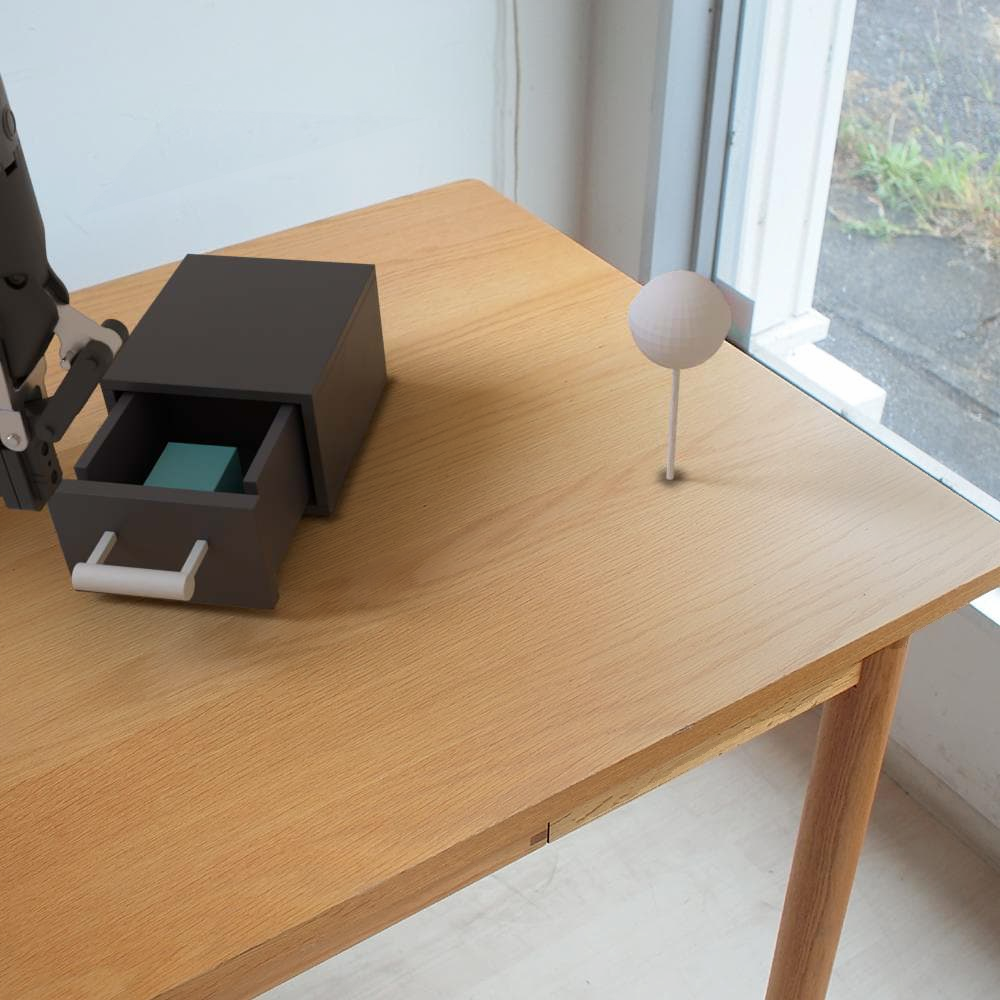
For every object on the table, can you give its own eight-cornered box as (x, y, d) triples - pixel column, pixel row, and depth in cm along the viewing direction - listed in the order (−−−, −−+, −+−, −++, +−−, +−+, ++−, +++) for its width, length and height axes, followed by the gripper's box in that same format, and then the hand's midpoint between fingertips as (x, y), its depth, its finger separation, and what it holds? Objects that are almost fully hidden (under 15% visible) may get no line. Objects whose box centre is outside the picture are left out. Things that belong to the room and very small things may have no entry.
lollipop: (613, 497, 85) (618, 295, 76) (633, 444, 90) (640, 246, 80) (708, 513, 84) (726, 309, 74) (724, 458, 88) (743, 258, 78)
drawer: (251, 664, 74) (228, 561, 69) (44, 642, 76) (7, 540, 71) (339, 459, 88) (325, 361, 83) (163, 445, 90) (139, 348, 85)
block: (156, 542, 80) (141, 486, 78) (182, 497, 84) (168, 441, 81) (225, 548, 80) (213, 492, 77) (248, 502, 83) (237, 447, 80)
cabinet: (330, 516, 85) (311, 394, 79) (131, 499, 87) (97, 378, 81) (387, 379, 97) (375, 263, 90) (211, 367, 99) (187, 253, 93)
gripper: (-305, 182, 48) (-141, 540, 59) (33, 199, 46) (138, 567, 57) (-189, 99, 54) (-58, 440, 65) (117, 111, 52) (198, 461, 63)
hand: (34, 499), depth 61 cm, fingers closed
